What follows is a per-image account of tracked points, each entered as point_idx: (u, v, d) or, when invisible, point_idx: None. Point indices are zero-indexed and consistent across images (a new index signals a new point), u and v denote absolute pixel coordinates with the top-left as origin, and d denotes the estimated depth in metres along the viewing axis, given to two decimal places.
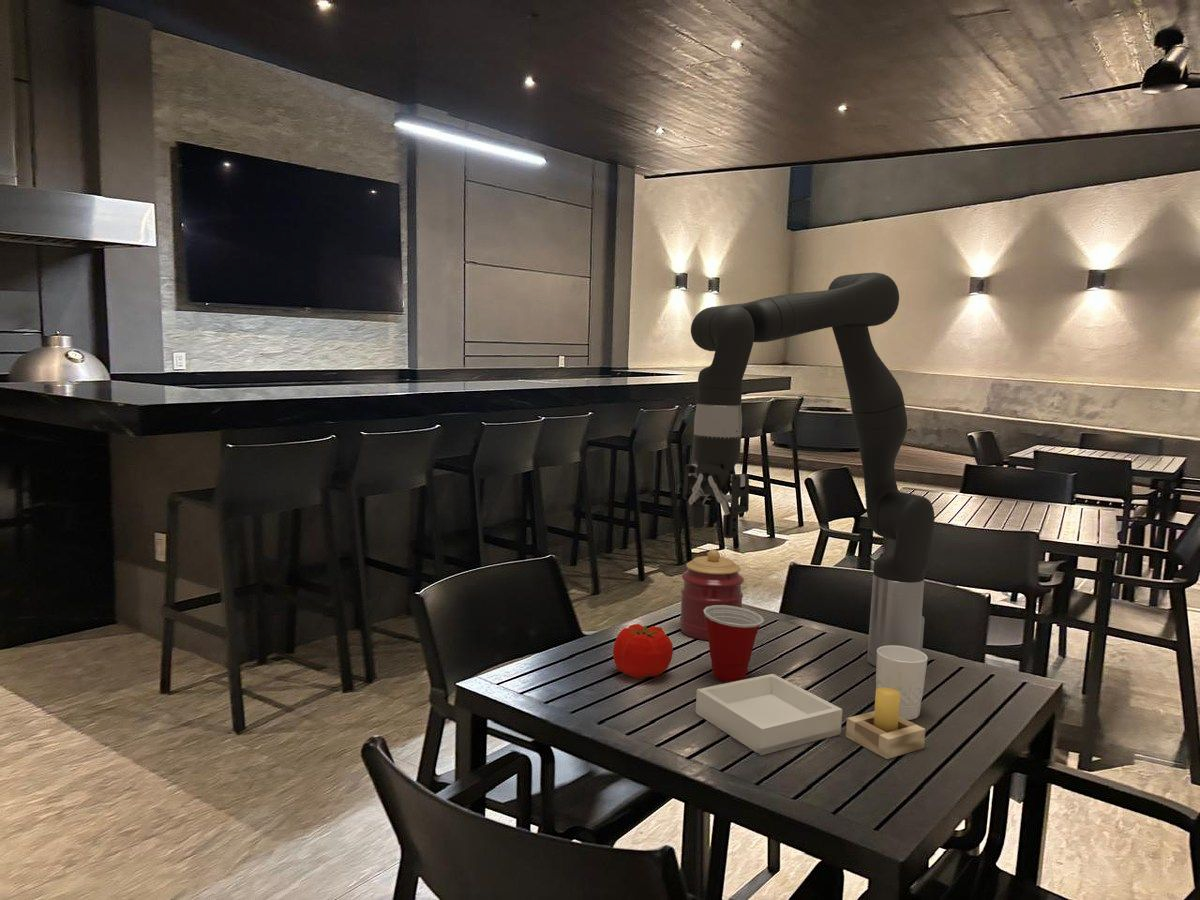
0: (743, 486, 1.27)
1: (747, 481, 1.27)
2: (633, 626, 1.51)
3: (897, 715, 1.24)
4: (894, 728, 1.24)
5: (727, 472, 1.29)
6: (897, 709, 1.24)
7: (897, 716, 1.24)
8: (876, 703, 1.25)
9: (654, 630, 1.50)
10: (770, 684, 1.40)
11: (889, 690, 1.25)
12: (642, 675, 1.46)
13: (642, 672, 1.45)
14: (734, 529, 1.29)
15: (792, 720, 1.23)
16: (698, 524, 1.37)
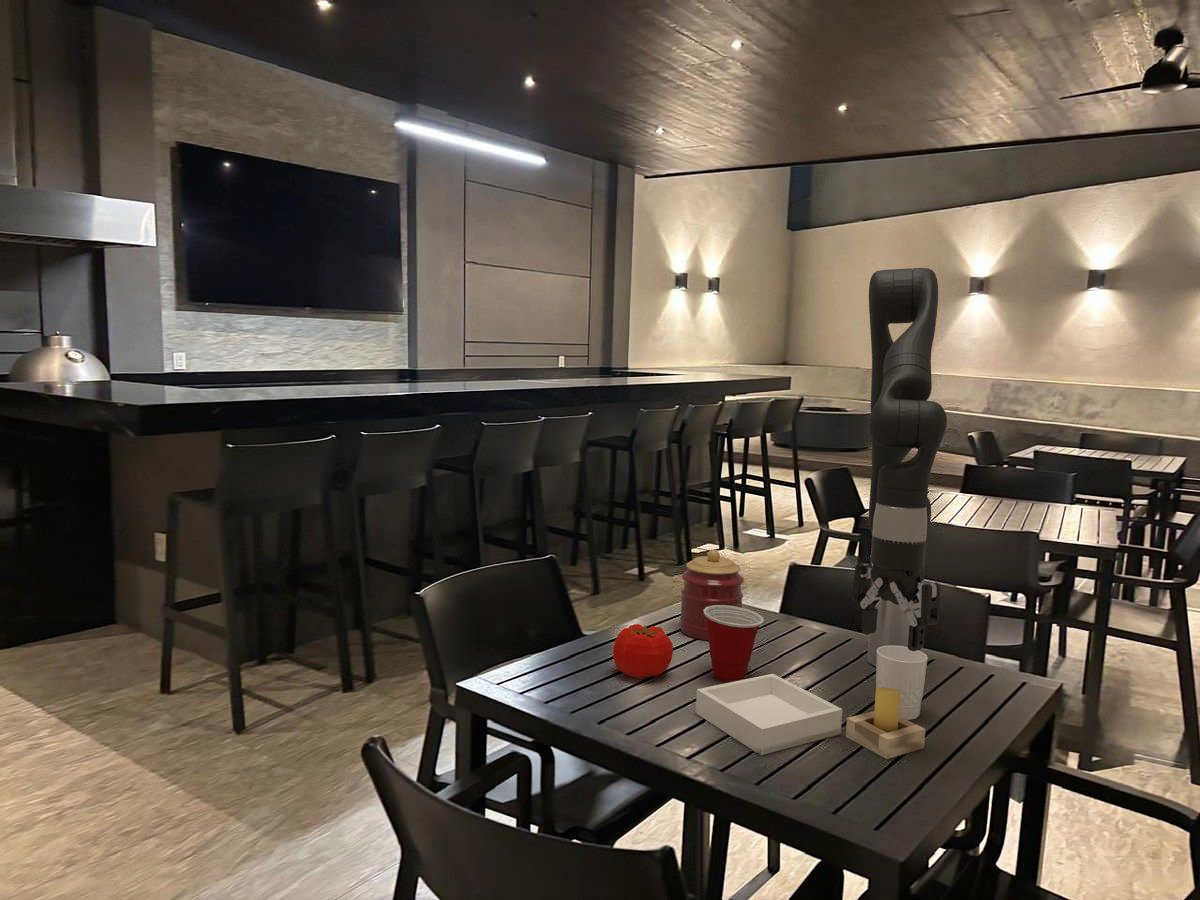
0: (934, 597, 1.17)
1: (938, 591, 1.18)
2: (633, 626, 1.51)
3: (897, 715, 1.24)
4: (894, 728, 1.24)
5: (914, 580, 1.19)
6: (897, 709, 1.24)
7: (897, 716, 1.24)
8: (876, 703, 1.25)
9: (654, 630, 1.50)
10: (770, 684, 1.40)
11: (889, 690, 1.25)
12: (642, 675, 1.46)
13: (642, 672, 1.45)
14: (921, 641, 1.20)
15: (792, 720, 1.23)
16: (871, 629, 1.27)
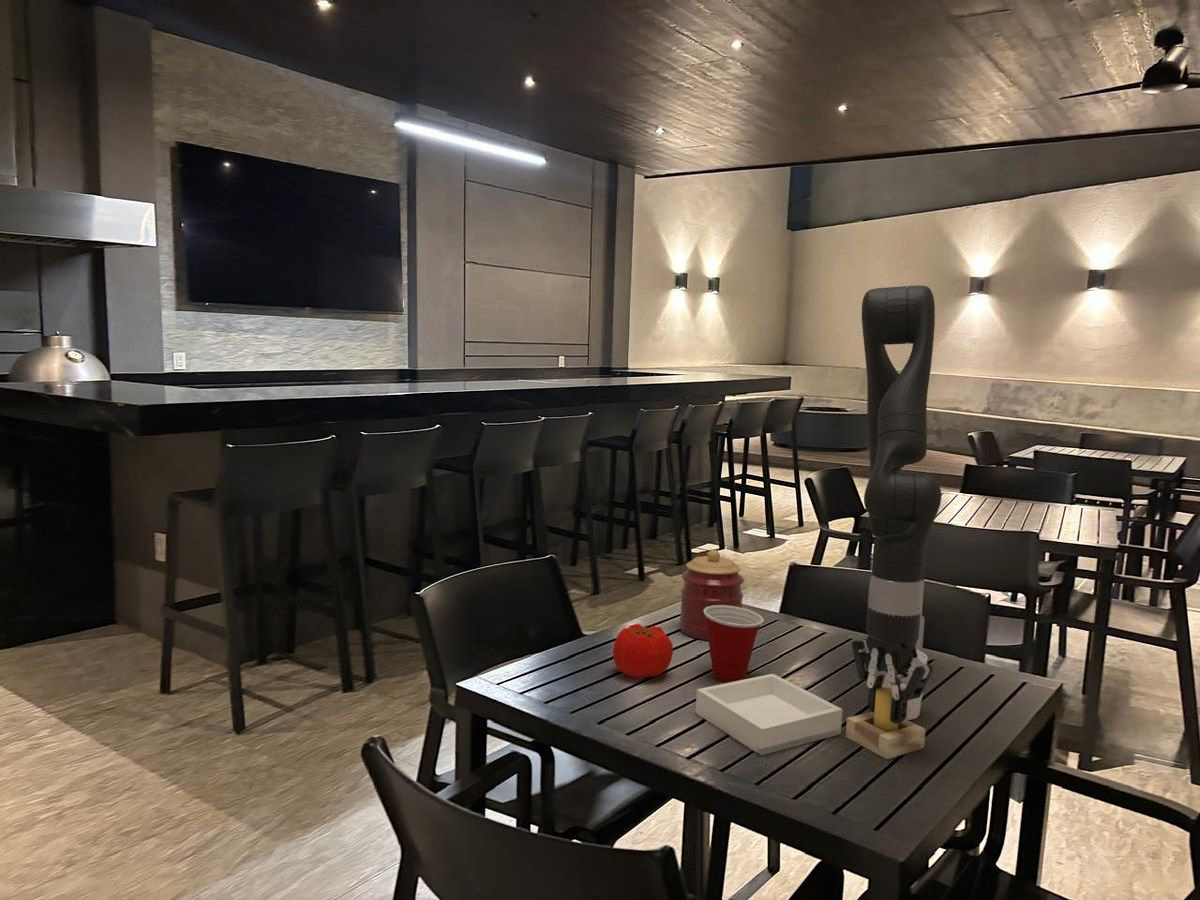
0: (924, 678, 1.19)
1: (929, 674, 1.19)
2: (633, 626, 1.51)
3: None
4: (895, 728, 1.24)
5: (910, 656, 1.20)
6: None
7: None
8: (876, 703, 1.25)
9: (654, 630, 1.50)
10: (770, 684, 1.40)
11: (889, 690, 1.25)
12: (642, 675, 1.46)
13: (642, 672, 1.45)
14: (903, 714, 1.23)
15: (792, 720, 1.23)
16: None
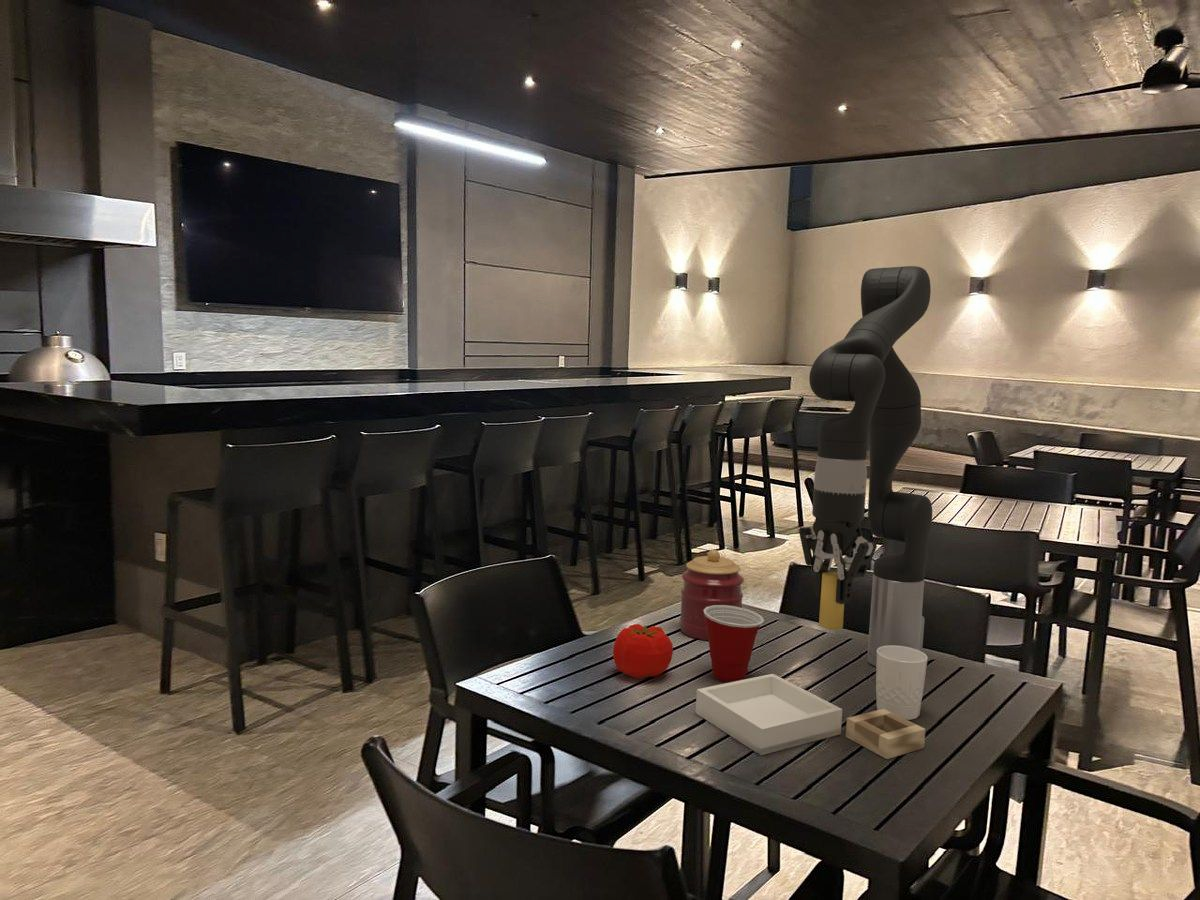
0: (868, 555, 1.20)
1: (873, 551, 1.20)
2: (633, 626, 1.51)
3: None
4: (840, 609, 1.24)
5: (855, 534, 1.21)
6: None
7: None
8: (822, 586, 1.25)
9: (654, 630, 1.50)
10: (770, 684, 1.40)
11: (835, 573, 1.26)
12: (642, 675, 1.46)
13: (642, 672, 1.45)
14: (848, 594, 1.23)
15: (792, 720, 1.23)
16: None
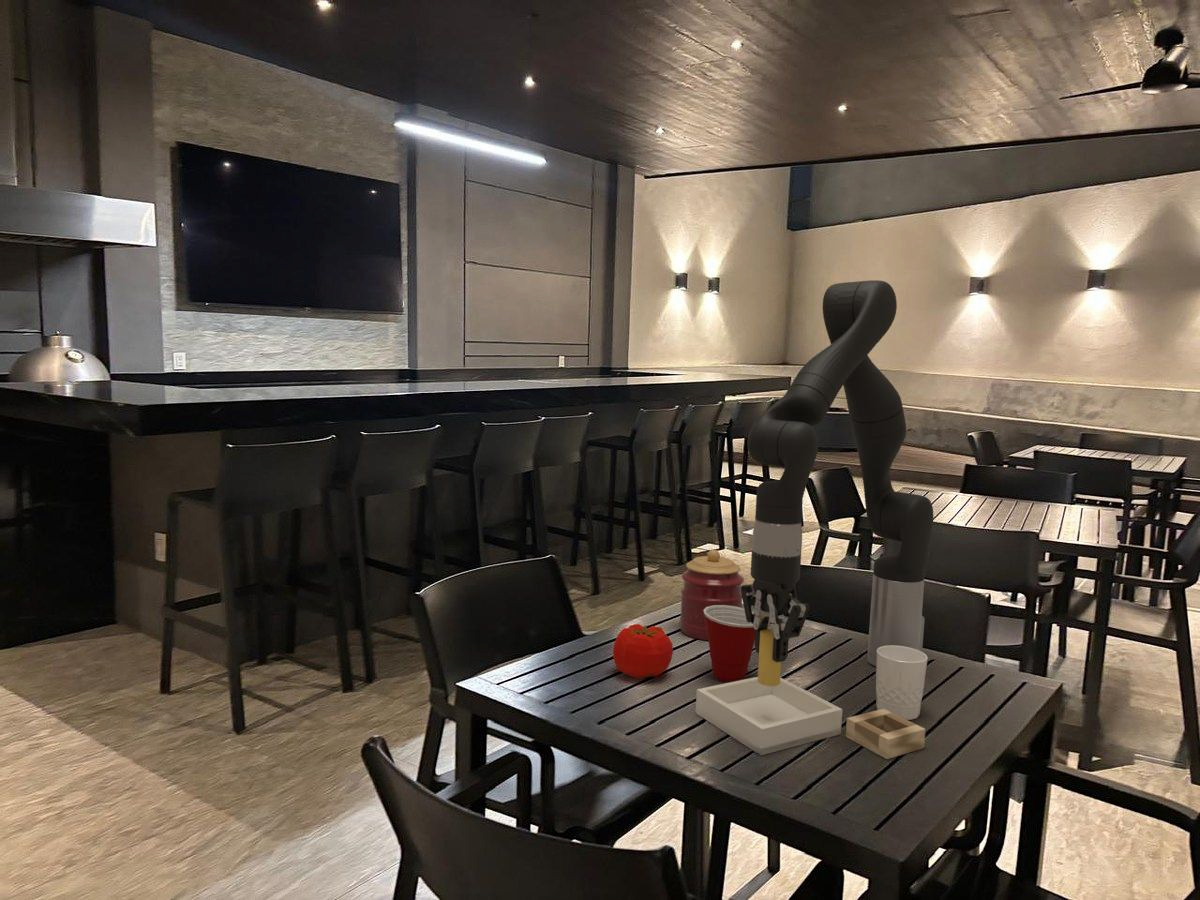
0: (801, 617, 1.24)
1: (806, 613, 1.24)
2: (633, 626, 1.51)
3: None
4: (777, 667, 1.28)
5: (789, 596, 1.25)
6: None
7: None
8: (760, 643, 1.29)
9: (654, 630, 1.50)
10: None
11: (773, 631, 1.30)
12: (642, 675, 1.46)
13: (642, 672, 1.45)
14: (784, 653, 1.27)
15: (792, 720, 1.23)
16: None
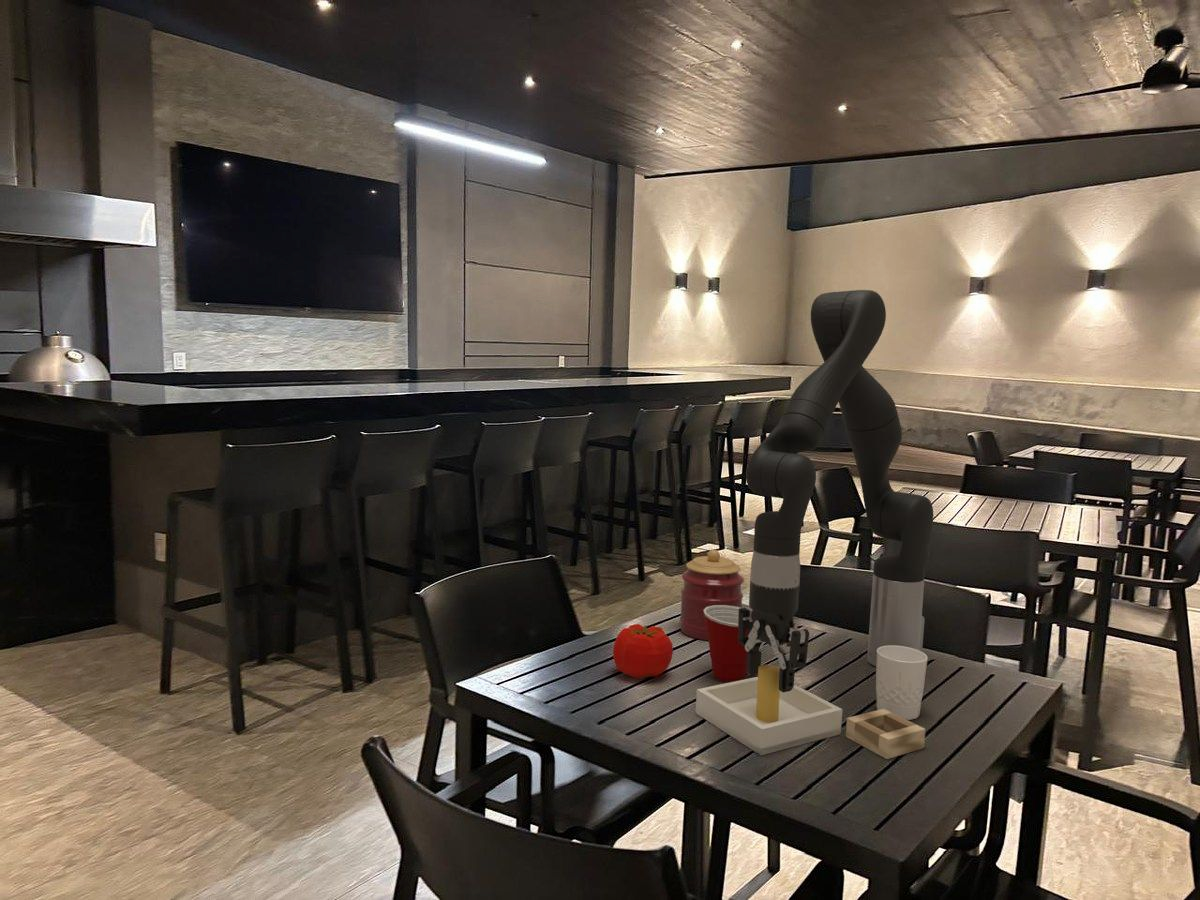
0: (802, 643, 1.24)
1: (807, 638, 1.24)
2: (633, 626, 1.51)
3: (778, 691, 1.29)
4: (775, 703, 1.29)
5: (786, 624, 1.25)
6: (777, 685, 1.29)
7: (778, 692, 1.29)
8: (758, 679, 1.30)
9: (654, 630, 1.50)
10: None
11: (771, 667, 1.30)
12: (642, 675, 1.46)
13: (642, 672, 1.45)
14: (790, 683, 1.26)
15: (792, 720, 1.23)
16: (754, 671, 1.33)
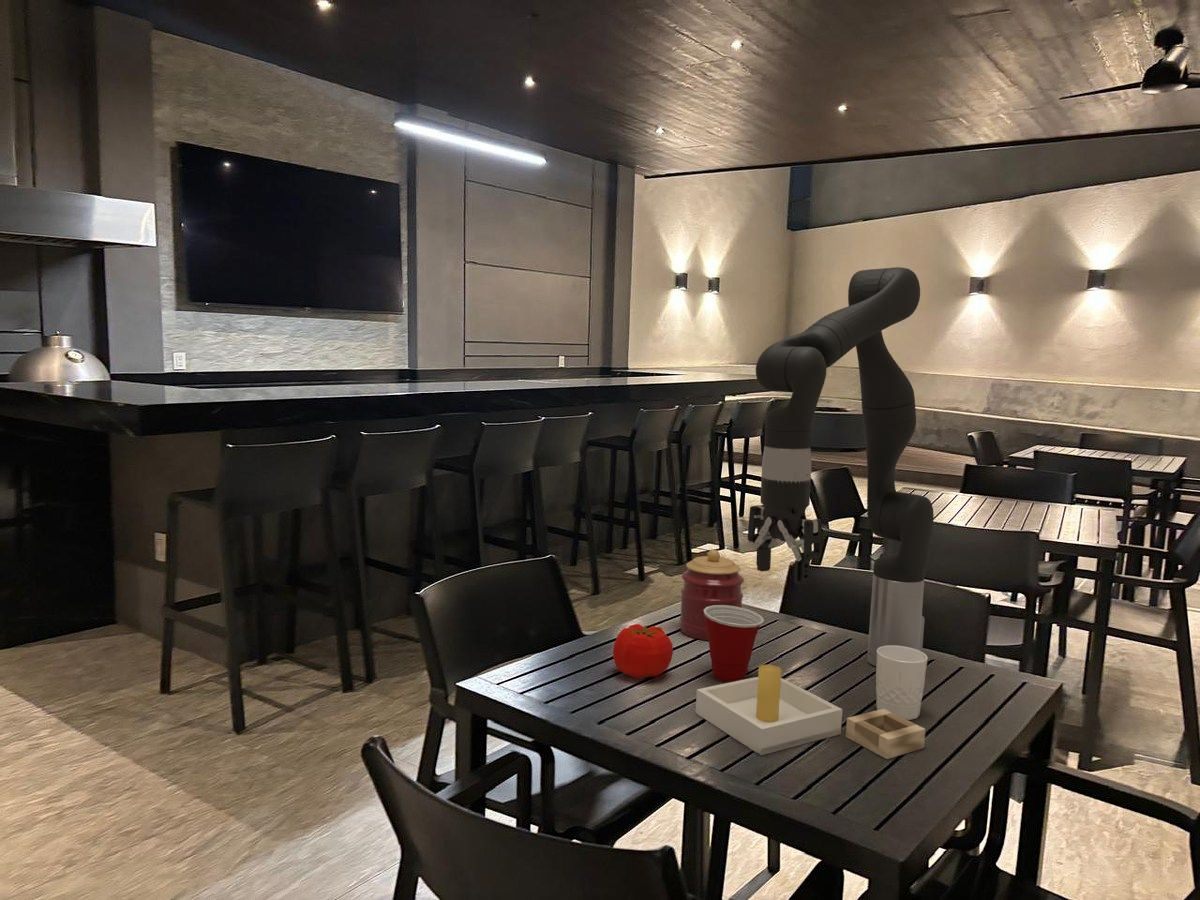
0: (816, 532, 1.24)
1: (820, 527, 1.24)
2: (633, 626, 1.51)
3: (778, 691, 1.29)
4: (775, 703, 1.29)
5: (798, 517, 1.26)
6: (778, 685, 1.29)
7: (778, 692, 1.29)
8: (758, 679, 1.30)
9: (654, 630, 1.50)
10: None
11: (771, 667, 1.30)
12: (642, 675, 1.46)
13: (642, 672, 1.45)
14: (806, 575, 1.26)
15: (792, 720, 1.23)
16: (765, 567, 1.34)
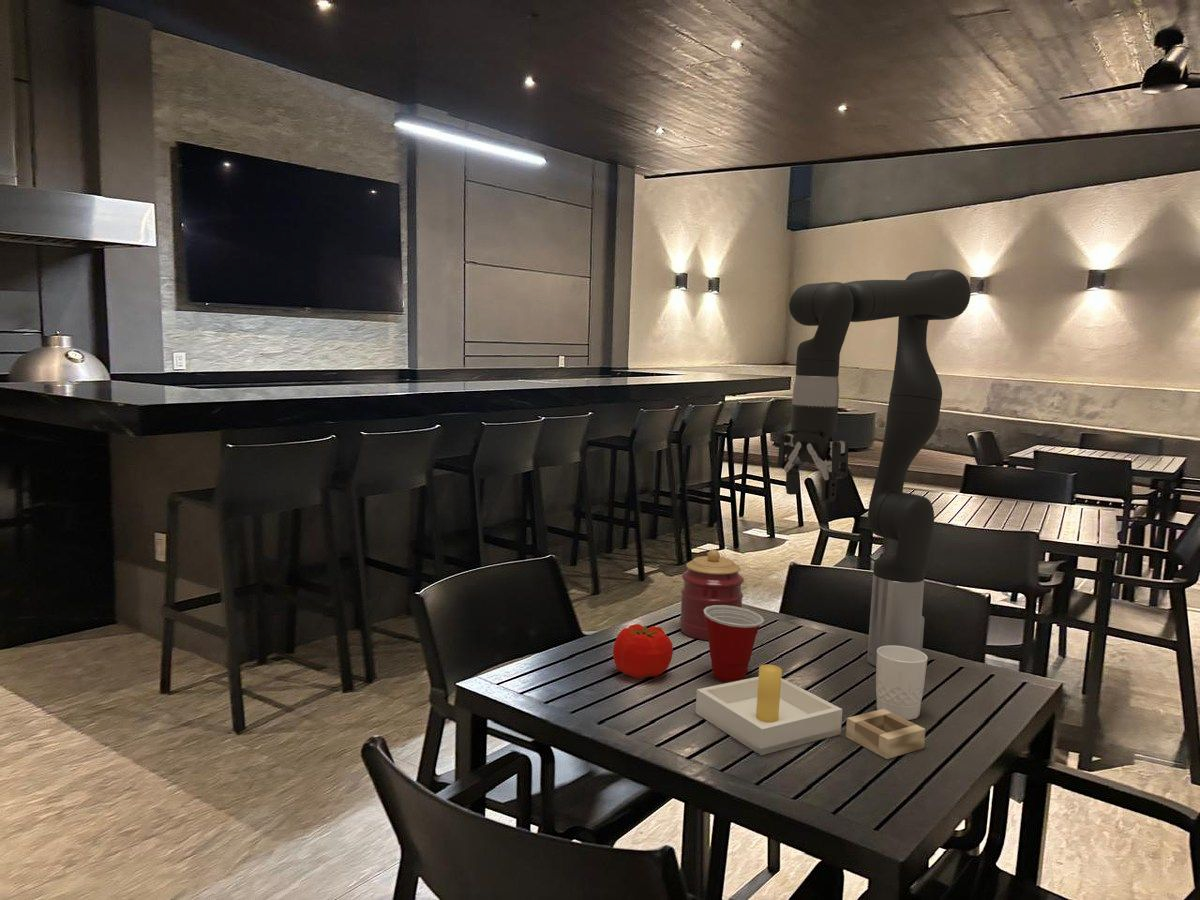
0: (843, 452, 1.34)
1: (846, 448, 1.35)
2: (633, 626, 1.51)
3: (778, 691, 1.29)
4: (775, 703, 1.29)
5: (826, 440, 1.36)
6: (778, 685, 1.29)
7: (778, 692, 1.29)
8: (759, 679, 1.30)
9: (654, 630, 1.50)
10: None
11: (772, 667, 1.30)
12: (642, 675, 1.46)
13: (642, 672, 1.45)
14: (833, 494, 1.37)
15: (792, 720, 1.23)
16: (793, 491, 1.44)
